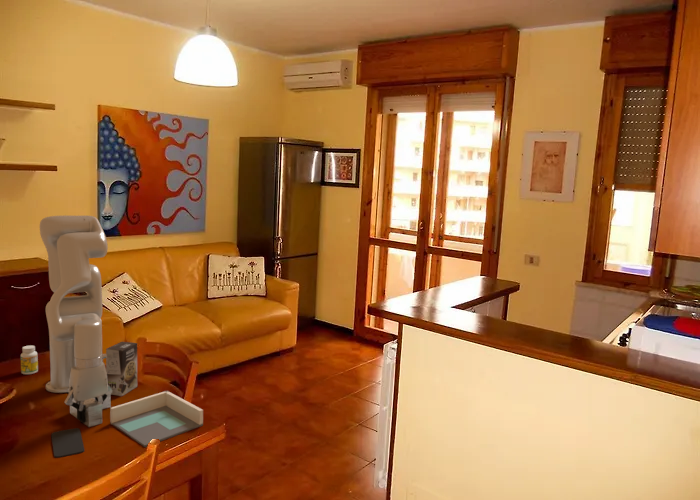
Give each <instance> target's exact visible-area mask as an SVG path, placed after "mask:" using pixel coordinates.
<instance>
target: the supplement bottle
mask: <svg viewBox="0 0 700 500" xmlns="http://www.w3.org/2000/svg"><path fill="white" fill-rule="evenodd" d="M21 349H22V350H21V351H22V353H21V354H20V373H21V374H23V375H32V374H33V375H34V374H35V373H38V372H39V361H38V360H39V359H38V358H39V357H38V352H37V351H36V346H35V345H31V344H30V345H26V346H22V348H21Z"/></svg>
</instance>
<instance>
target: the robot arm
mask: <svg viewBox="0 0 700 500" xmlns="http://www.w3.org/2000/svg"><path fill="white" fill-rule="evenodd" d="M39 234H40V238H41V240H42V242H43V244H44V246H45V249H46V252H47V259H48V281H49V288H50V289H51V291H52V292H53V294H52V296H51V297H50V301H48V302H47V304H45V305H46V306H45V315H46V321H47V326H48V327H47V328H48V336H49V337H48V338H49V361H50V367H49V368H50V381H48V382H47V383H46V384H45V389H46V391H47V392H49V393H50V392H51V393H55V394H57V393H59V394H63V393H68V394H67V397H66V398H65V400H64V404H65V405H67V406H69V407H70V406H73V407H74V408H76V409H77V418H76V419H77V420H78V421H79V422H80V423H82V424H84V423H85V410H84V409H83V407H84V401H85V400H87V399H91V398H94V397H95V400H97V401H98V402H100V403H101V404H103V402H104V400H105V399H106V398H107V396H108V395H109V394H111V393H112V391H113V390H112V389H111V388H110V387H109V385H108V380H107V373H106V363H104V359H106V357H107V355H106V353H103V328H102V327H103V324H102V323H103V322H102V319H101V318H102V316H103V288H102V285H103V283H102V275H101V272H100V269H99V267H98V266H97V265H95V264H90V259H96V258H97V259H98V258H99V259H100V258H104V257H105V256H107V253H108V248H109V247H108V240H107V239H108V238H107V235H106V234H105V232H104V229H103V227H102V225H101V223H100V221H99V219H98V218H97V217H96V216H93V215H52V216H45V217H44V218H42V219H41V220H40V222H39ZM75 293H86V295H76V296H74V295H73V296H67V295H68V294H75ZM73 398H74V400H75V401H76V403H75V402H73V401H72V400H73Z"/></svg>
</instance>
